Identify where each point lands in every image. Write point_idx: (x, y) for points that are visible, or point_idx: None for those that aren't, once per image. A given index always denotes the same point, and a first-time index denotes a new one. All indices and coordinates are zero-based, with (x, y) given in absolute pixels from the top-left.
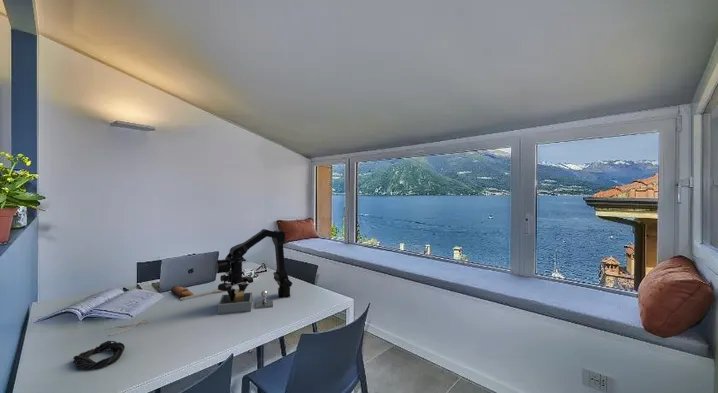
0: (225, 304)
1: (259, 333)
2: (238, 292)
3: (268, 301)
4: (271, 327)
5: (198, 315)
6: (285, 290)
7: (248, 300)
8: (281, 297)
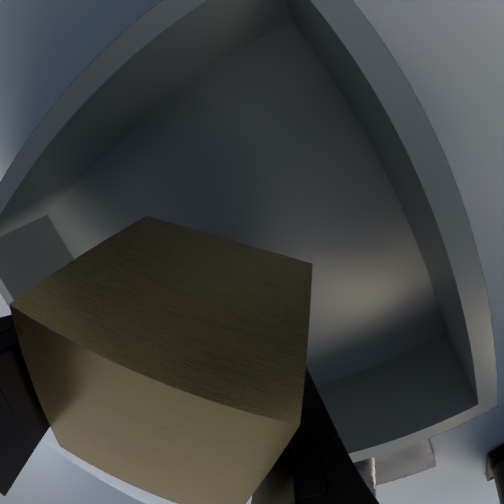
0: (9, 303)
1: (70, 458)
2: (113, 475)
3: (394, 467)
4: (118, 485)
5: (3, 68)
6: (499, 500)
7: (443, 317)
8: (487, 460)
